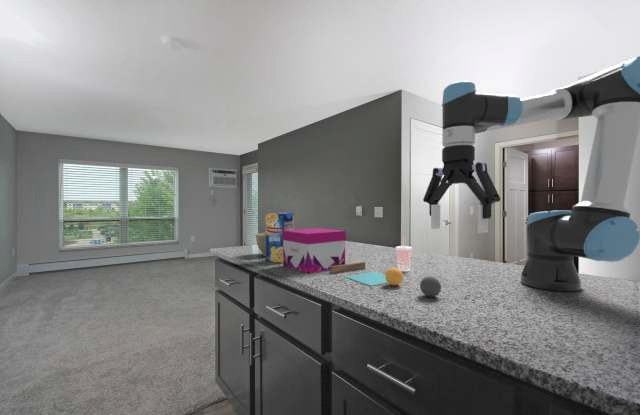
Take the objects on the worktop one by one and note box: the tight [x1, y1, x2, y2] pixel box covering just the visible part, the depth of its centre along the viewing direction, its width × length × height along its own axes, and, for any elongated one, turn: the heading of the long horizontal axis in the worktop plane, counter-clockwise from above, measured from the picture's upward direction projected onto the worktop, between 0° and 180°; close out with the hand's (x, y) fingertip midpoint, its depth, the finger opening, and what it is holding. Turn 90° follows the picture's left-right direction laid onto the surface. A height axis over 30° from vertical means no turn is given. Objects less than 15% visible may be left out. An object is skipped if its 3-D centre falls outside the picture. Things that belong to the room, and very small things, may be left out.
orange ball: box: [384, 267, 404, 287], centre depth 97 cm, size 6×6×6 cm
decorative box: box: [282, 227, 347, 274], centre depth 127 cm, size 19×19×15 cm
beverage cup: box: [395, 233, 413, 272], centre depth 119 cm, size 6×6×14 cm
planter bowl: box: [255, 232, 266, 257], centre depth 156 cm, size 16×16×11 cm
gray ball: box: [419, 276, 442, 298], centre depth 85 cm, size 6×6×6 cm
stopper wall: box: [329, 261, 366, 275], centre depth 118 cm, size 1×16×2 cm, turn 121°
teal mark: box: [345, 271, 389, 287], centre depth 106 cm, size 14×14×1 cm
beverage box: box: [265, 212, 295, 264], centre depth 139 cm, size 7×11×22 cm, turn 57°
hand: (457, 230), depth 77 cm, fingers open, 13 cm apart
